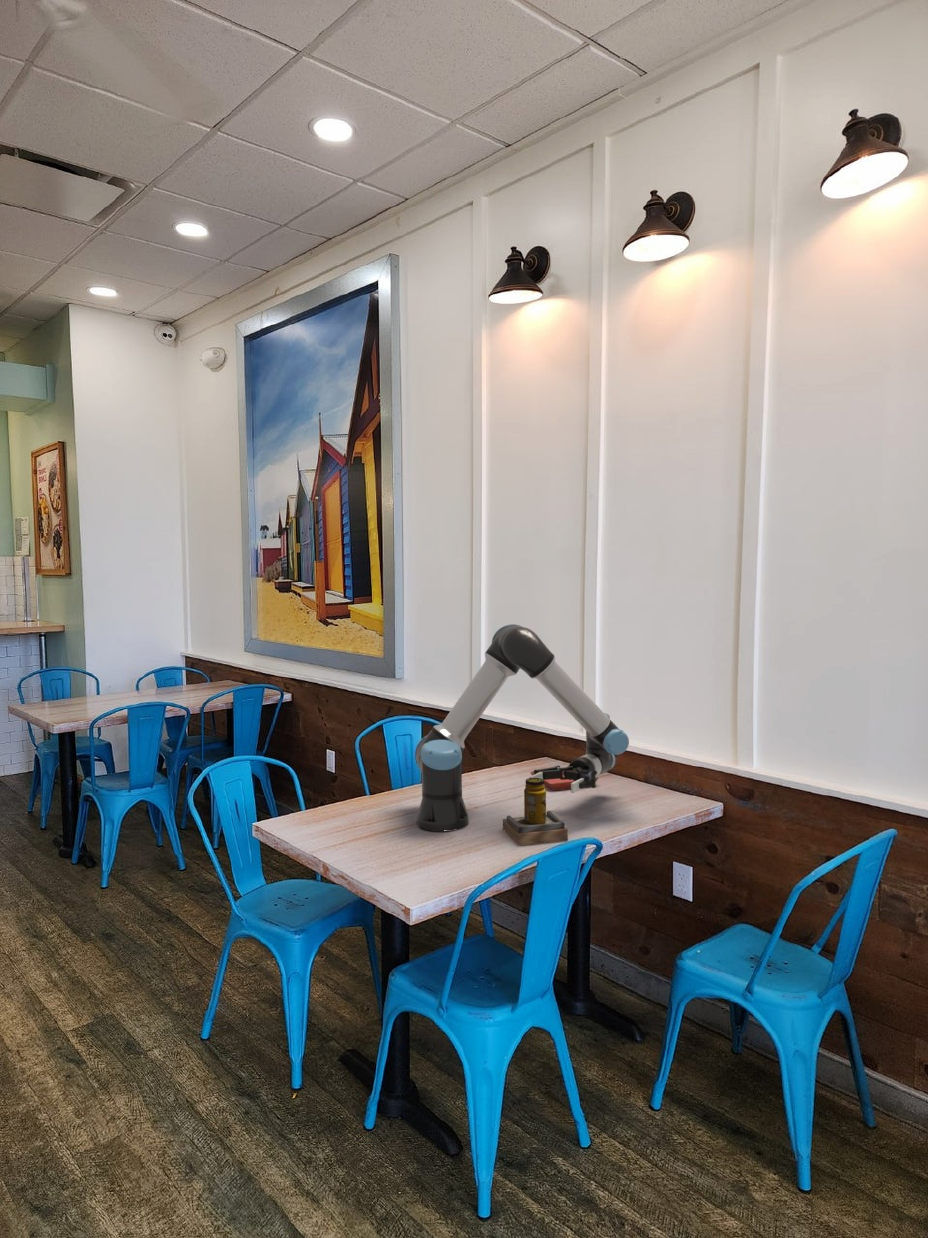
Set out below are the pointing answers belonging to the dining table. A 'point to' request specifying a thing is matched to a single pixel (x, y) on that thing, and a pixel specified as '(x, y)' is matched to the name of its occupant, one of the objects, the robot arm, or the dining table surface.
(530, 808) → the condiment
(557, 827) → the dock
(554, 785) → the plant saucer
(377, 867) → the dining table surface
